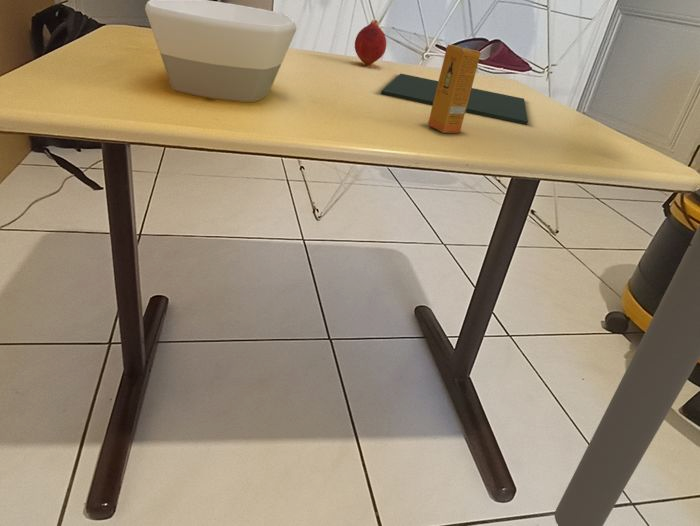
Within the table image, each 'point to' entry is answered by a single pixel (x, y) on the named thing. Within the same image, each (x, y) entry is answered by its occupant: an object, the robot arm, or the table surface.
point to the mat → (477, 102)
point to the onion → (370, 43)
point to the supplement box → (453, 89)
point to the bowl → (220, 47)
